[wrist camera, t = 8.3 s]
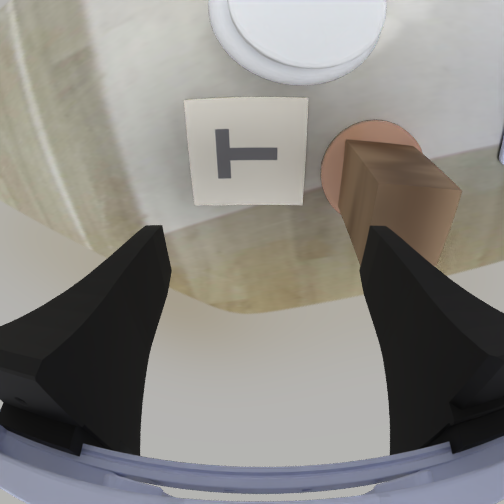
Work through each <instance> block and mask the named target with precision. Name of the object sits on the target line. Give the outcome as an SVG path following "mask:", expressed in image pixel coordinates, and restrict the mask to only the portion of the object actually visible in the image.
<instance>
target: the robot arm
mask: <svg viewBox="0 0 504 504" xmlns="http://www.w3.org/2000/svg"><path fill="white" fill-rule="evenodd" d="M499 161H500V162H501V163H502V164H503V165H504V137H503V142H502V146H501V150H500V154H499ZM171 271H172V270H171V265H170V261H169V256H168V252H167V247H166V242H165V237H164V232H163V227H162V225H150V226H145V227H143V228H142V229H141V230H140V231H138V232H137V233H136V234H135V235H134V236H133V237H131V238H130V239H129V240H128V241H127V242H126V243H125V244H123V245H122V246H121V247H120V248H119V249H118V250H117V251H116V252H114V253H113V254H112V255H111V256H110V257H109V258H108V259H106V260H105V261H104V262H103V263H101V264H100V265H99V266H98V267H97V268H96V269H94V270H93V271H92V272H91V273H90V274H88V275H87V276H86V277H84V278H83V279H82V280H81V281H79V282H78V283H76V284H75V285H74V286H72V287H71V288H69V289H68V290H66V291H65V292H64V293H62V294H60V295H59V296H57V297H55V298H54V299H52V300H51V301H49V302H48V303H46V304H44V305H43V306H41V307H39V308H37V309H36V310H34V311H32V312H30V313H28V314H26V315H24V316H23V317H20V318H18V319H16V320H14V321H12V322H10V323H7V324H5V325H3V326H0V400H2V401H3V402H4V403H3V405H2V408H1V409H0V488H1V489H2V490H4V491H6V492H7V493H9V494H11V495H12V496H14V497H16V498H18V499H19V500H21V501H23V502H25V503H27V504H496V503H498V502H499V501H501V500H503V499H504V313H502V312H500V311H498V310H497V309H495V308H493V307H491V306H490V305H488V304H486V303H485V302H483V301H482V300H480V299H478V298H477V297H475V296H474V295H472V294H470V293H469V292H467V291H466V290H465V289H463V288H462V287H460V286H459V285H458V284H456V283H455V282H453V281H452V280H451V279H449V278H448V277H447V276H446V275H444V274H443V273H442V272H441V271H439V270H438V269H437V268H436V267H434V266H433V265H432V264H431V263H430V262H428V261H427V260H426V259H425V258H424V257H423V256H421V255H420V254H419V253H418V252H417V251H416V250H414V249H413V248H412V247H411V246H410V245H409V244H408V243H406V242H405V241H404V240H403V239H402V238H401V237H399V236H398V235H397V234H396V233H395V232H393V231H392V230H391V229H389V228H388V227H387V226H370V227H369V232H368V237H367V241H366V245H365V250H364V254H363V258H362V262H361V267H360V276H361V282H362V287H363V292H364V296H365V299H366V302H367V305H368V308H369V312H370V315H371V318H372V321H373V324H374V327H375V330H376V334H377V337H378V340H379V344H380V347H381V351H382V356H383V361H384V367H385V374H386V381H387V391H388V400H389V415H390V455H389V456H383V457H378V458H372V459H366V460H358V461H350V462H342V463H333V464H322V465H309V466H290V467H237V466H218V465H204V464H192V463H184V462H175V461H168V460H161V459H154V458H147V457H142V456H140V431H141V430H140V429H141V414H142V402H143V393H144V385H145V377H146V371H147V365H148V359H149V354H150V350H151V346H152V342H153V339H154V336H155V332H156V329H157V326H158V323H159V319H160V316H161V313H162V310H163V307H164V304H165V300H166V297H167V293H168V288H169V283H170V277H171ZM387 481H388V482H387ZM141 482H143V483H141ZM382 482H384V483H382ZM145 483H149V484H154V485H160V486H167V487H173V488H180V489H188V490H189V489H190V490H199V491H208V492H223V493H242V494H281V493H282V494H283V493H304V492H317V491H327V490H337V489H345V488H351V487H358V486H365V485H371V484H377V483H381V484H377V485H376V486H375V487H374V489H373V490H371V491H369V492H368V493H365V494H363V495H359V496H351V497H341V498H329V499H317V500H299V501H270V502H269V501H268V502H266V501H265V502H264V501H262V502H261V501H260V502H259V501H255V502H252V501H251V502H250V501H248V502H247V501H246V502H245V501H217V500H216V501H215V500H198V499H186V498H176V497H173V496H170V495H168V494H166V493H164V492H163V490H162V489H161V488H160V487H156V486H152V485H149V484H145Z"/></svg>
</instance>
